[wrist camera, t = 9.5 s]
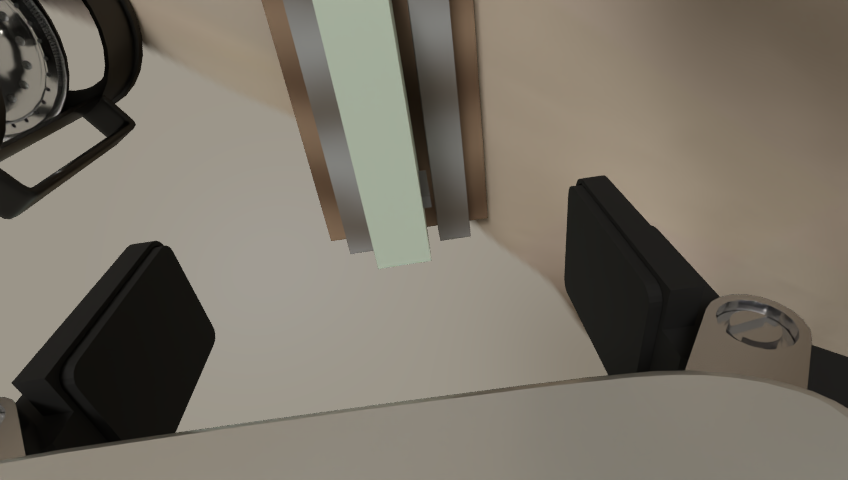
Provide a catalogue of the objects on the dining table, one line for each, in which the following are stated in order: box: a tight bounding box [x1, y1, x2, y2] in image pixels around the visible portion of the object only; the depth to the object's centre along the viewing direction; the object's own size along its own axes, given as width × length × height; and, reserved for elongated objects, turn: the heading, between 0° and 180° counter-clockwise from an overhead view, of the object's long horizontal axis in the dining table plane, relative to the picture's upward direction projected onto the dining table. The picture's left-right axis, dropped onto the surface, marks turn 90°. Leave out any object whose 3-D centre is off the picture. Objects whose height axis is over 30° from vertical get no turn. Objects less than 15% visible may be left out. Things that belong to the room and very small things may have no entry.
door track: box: [262, 0, 488, 254], centre depth 26 cm, size 20×11×3 cm, turn 8°
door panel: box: [312, 0, 432, 269], centre depth 22 cm, size 12×3×10 cm, turn 8°
